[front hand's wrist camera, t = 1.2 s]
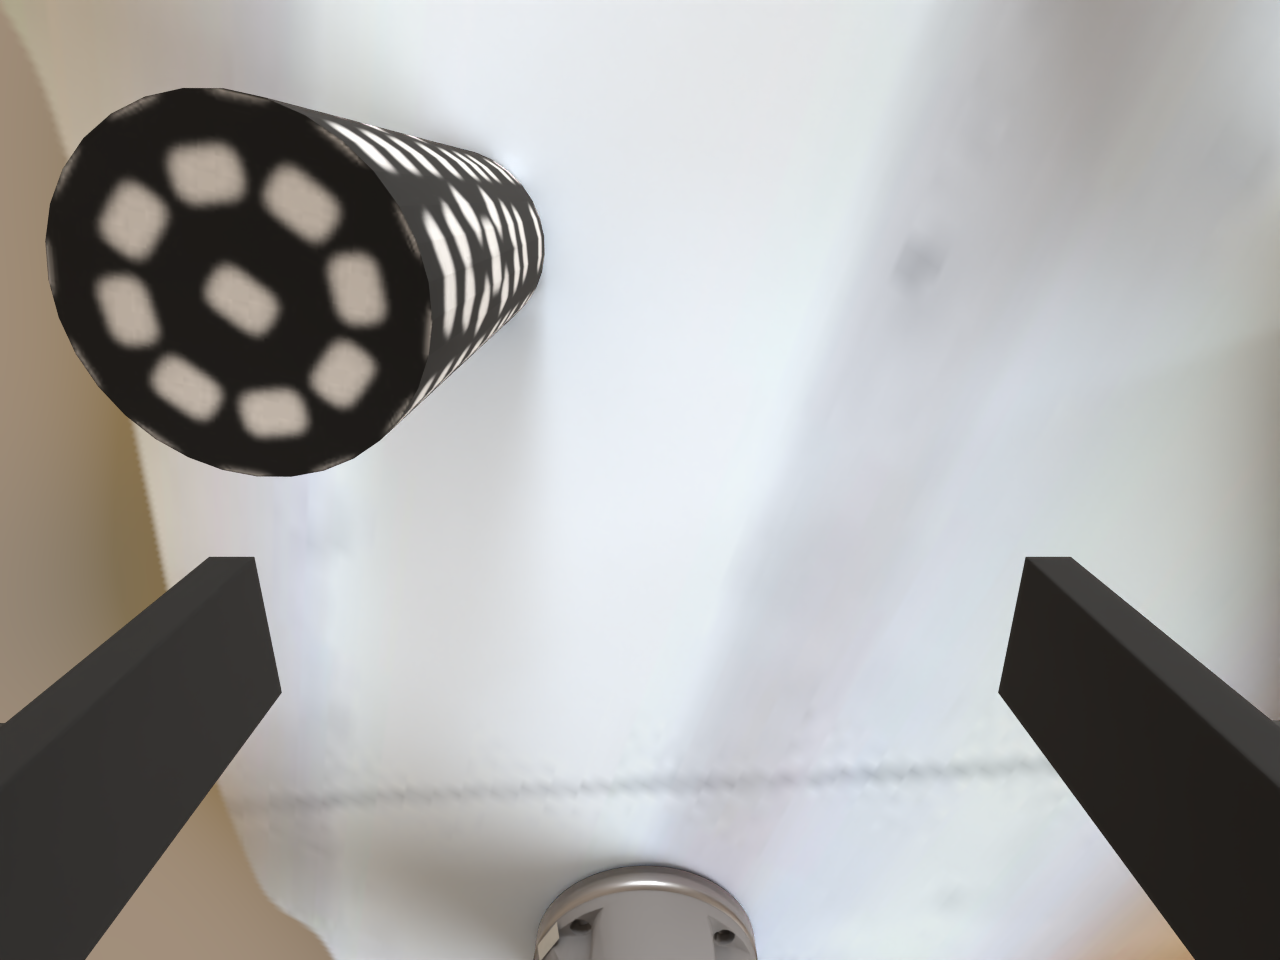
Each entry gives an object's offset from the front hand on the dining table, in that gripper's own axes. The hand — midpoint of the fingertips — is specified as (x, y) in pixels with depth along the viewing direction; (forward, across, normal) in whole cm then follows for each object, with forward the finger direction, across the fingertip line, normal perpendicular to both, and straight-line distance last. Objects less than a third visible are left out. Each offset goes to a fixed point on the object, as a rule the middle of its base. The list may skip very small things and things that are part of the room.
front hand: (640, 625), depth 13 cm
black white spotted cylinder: (+15, +9, -5) cm, 18 cm away
